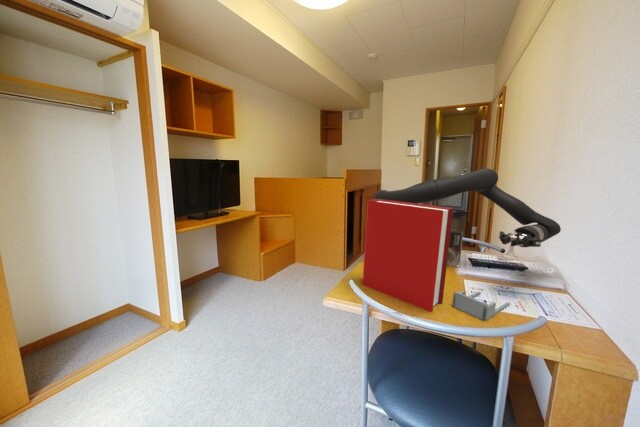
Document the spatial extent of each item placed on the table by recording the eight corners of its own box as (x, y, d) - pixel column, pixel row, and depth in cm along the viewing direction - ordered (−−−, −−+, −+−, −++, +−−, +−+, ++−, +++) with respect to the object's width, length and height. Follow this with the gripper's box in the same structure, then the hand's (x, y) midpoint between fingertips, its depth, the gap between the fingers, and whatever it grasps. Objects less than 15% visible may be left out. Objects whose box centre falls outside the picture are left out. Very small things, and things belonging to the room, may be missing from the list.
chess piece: (498, 256, 98) (502, 229, 96) (511, 256, 99) (515, 229, 97) (508, 260, 93) (513, 232, 92) (522, 260, 94) (526, 232, 92)
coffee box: (460, 263, 127) (464, 230, 124) (458, 267, 122) (462, 233, 119) (439, 259, 132) (442, 227, 129) (436, 263, 127) (440, 230, 124)
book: (442, 303, 89) (453, 207, 84) (432, 312, 83) (443, 210, 78) (372, 278, 108) (377, 198, 102) (360, 284, 102) (365, 200, 97)
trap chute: (452, 306, 88) (453, 291, 87) (478, 293, 97) (479, 280, 96) (484, 320, 80) (487, 305, 79) (509, 305, 89) (511, 291, 88)
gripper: (508, 222, 107) (487, 227, 97) (552, 230, 96) (534, 236, 86) (505, 240, 108) (485, 247, 99) (548, 250, 97) (530, 258, 88)
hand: (508, 242), depth 93 cm, fingers closed on chess piece
